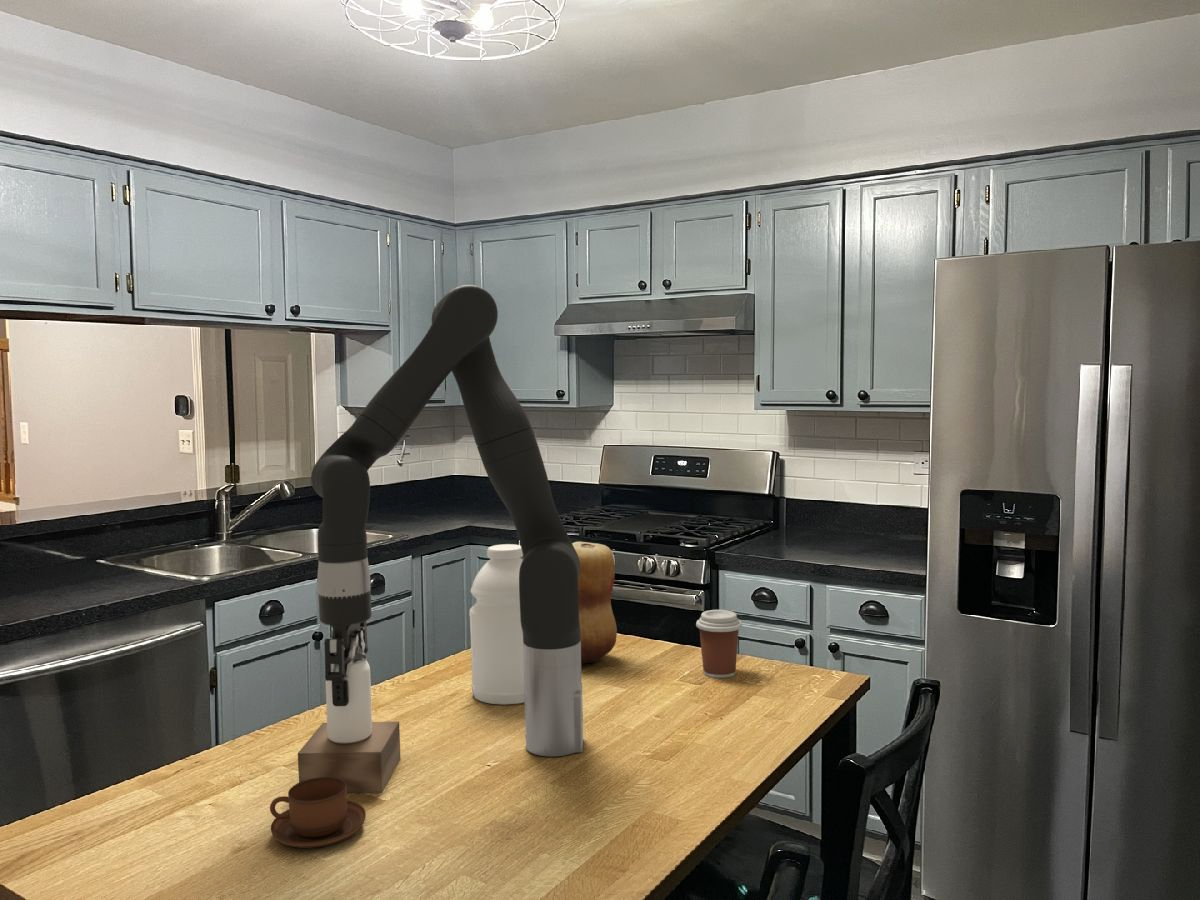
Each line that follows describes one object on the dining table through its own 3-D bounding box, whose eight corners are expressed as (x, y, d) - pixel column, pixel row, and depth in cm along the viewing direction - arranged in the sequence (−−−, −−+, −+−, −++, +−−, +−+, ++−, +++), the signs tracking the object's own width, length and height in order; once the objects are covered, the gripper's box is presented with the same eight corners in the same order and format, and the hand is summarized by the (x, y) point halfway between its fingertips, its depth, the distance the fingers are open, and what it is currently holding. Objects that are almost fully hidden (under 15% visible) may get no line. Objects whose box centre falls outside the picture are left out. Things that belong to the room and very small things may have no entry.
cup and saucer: (275, 865, 115) (272, 817, 115) (268, 823, 126) (265, 779, 126) (373, 844, 120) (371, 797, 120) (358, 806, 131) (356, 763, 131)
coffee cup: (745, 680, 182) (745, 619, 181) (698, 680, 182) (698, 620, 181) (739, 665, 191) (738, 607, 190) (694, 666, 191) (693, 608, 190)
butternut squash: (618, 671, 189) (616, 548, 187) (552, 672, 188) (549, 550, 186) (616, 651, 202) (614, 537, 200) (554, 652, 202) (551, 538, 200)
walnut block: (400, 758, 147) (399, 721, 146) (382, 792, 135) (380, 752, 134) (324, 759, 147) (322, 722, 146) (299, 793, 135) (297, 753, 134)
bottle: (560, 688, 179) (557, 543, 176) (516, 711, 167) (512, 556, 165) (502, 677, 186) (498, 538, 184) (456, 697, 174) (451, 549, 172)
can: (360, 746, 136) (357, 666, 136) (319, 743, 138) (316, 664, 137) (379, 729, 143) (376, 653, 142) (340, 727, 144) (337, 651, 143)
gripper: (357, 599, 131) (361, 712, 133) (381, 578, 146) (385, 679, 147) (303, 600, 131) (309, 713, 133) (333, 579, 146) (337, 680, 147)
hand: (349, 695), depth 140 cm, fingers open, 8 cm apart
